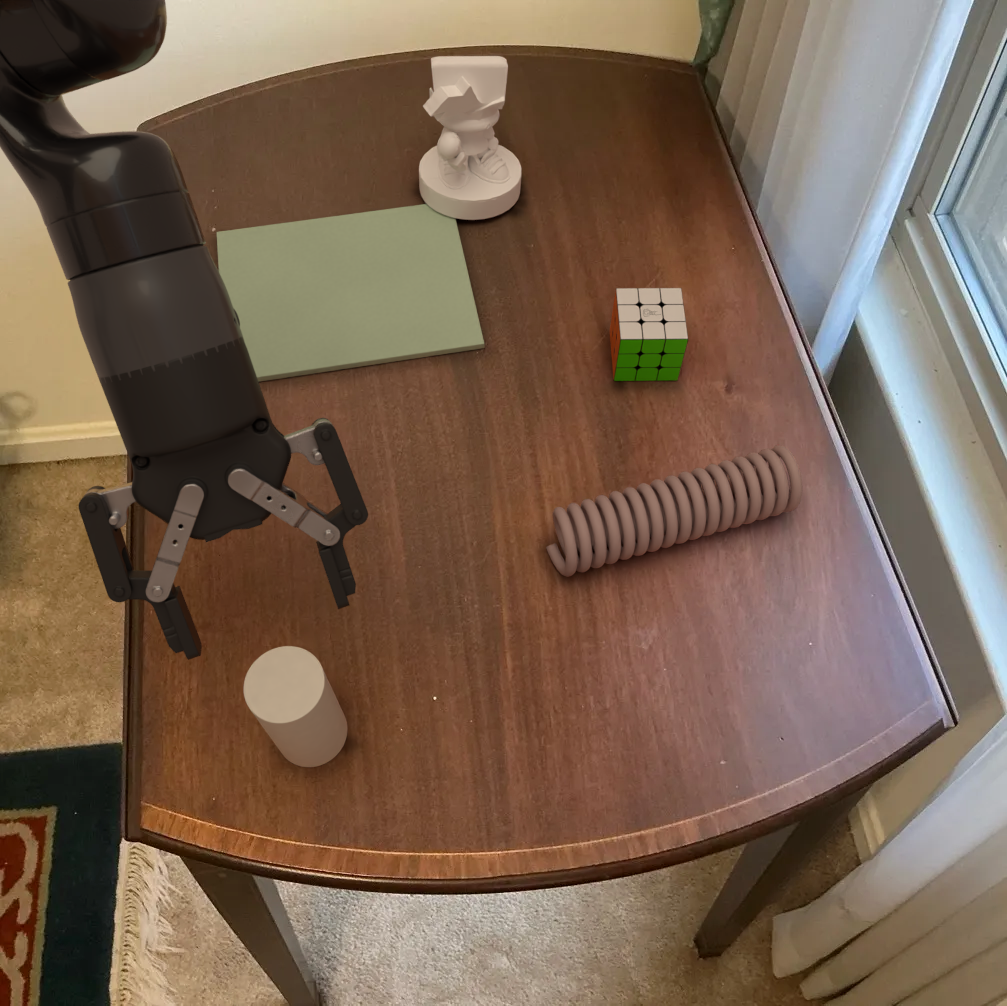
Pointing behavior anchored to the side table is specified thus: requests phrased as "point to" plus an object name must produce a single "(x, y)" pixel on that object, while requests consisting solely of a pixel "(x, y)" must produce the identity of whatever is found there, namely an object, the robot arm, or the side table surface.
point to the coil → (675, 510)
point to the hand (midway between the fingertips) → (270, 627)
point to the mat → (349, 290)
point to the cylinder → (296, 705)
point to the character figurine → (468, 140)
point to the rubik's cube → (648, 334)
